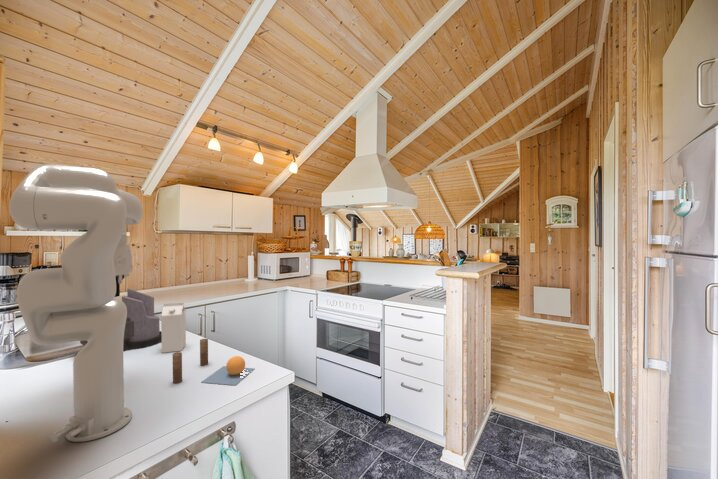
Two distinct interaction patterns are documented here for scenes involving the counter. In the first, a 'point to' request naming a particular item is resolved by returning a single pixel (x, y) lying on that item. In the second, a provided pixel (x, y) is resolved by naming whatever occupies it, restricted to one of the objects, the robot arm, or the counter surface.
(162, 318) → the milk carton
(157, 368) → the counter surface
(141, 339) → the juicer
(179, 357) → the inner post
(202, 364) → the outer post
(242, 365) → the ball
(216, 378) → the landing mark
